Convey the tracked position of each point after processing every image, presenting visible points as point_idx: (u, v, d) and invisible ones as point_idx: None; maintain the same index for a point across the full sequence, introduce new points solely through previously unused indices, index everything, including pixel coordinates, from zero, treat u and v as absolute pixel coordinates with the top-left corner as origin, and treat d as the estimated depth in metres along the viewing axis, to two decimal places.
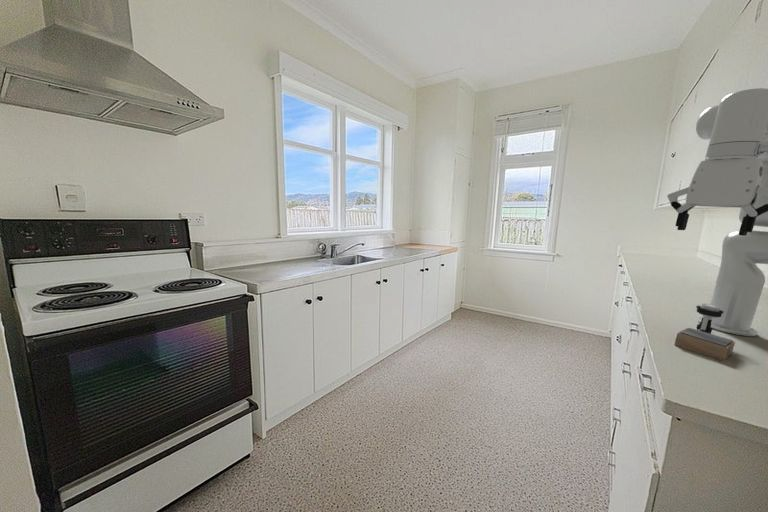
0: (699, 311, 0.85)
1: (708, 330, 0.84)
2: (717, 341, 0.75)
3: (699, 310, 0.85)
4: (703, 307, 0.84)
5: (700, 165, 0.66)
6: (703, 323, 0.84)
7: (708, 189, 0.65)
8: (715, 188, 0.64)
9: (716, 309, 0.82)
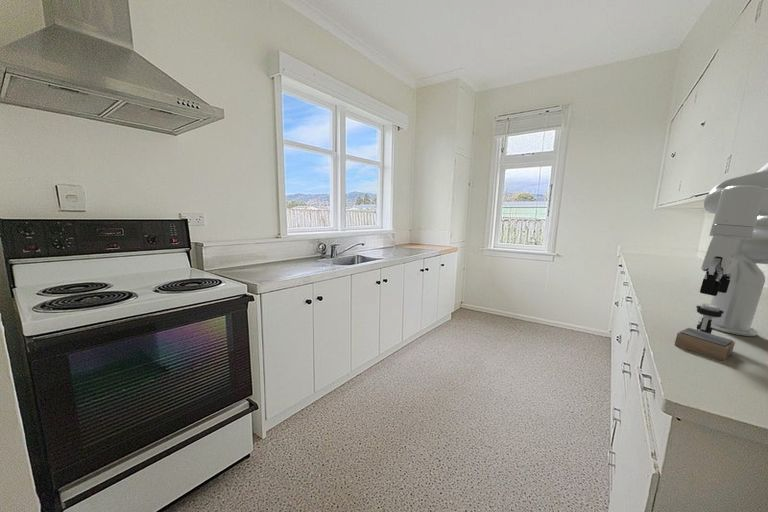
0: (699, 311, 0.85)
1: (708, 330, 0.84)
2: (717, 341, 0.75)
3: (699, 310, 0.85)
4: (703, 307, 0.84)
5: (735, 242, 0.77)
6: (703, 323, 0.84)
7: (734, 262, 0.78)
8: (734, 261, 0.79)
9: (716, 309, 0.82)
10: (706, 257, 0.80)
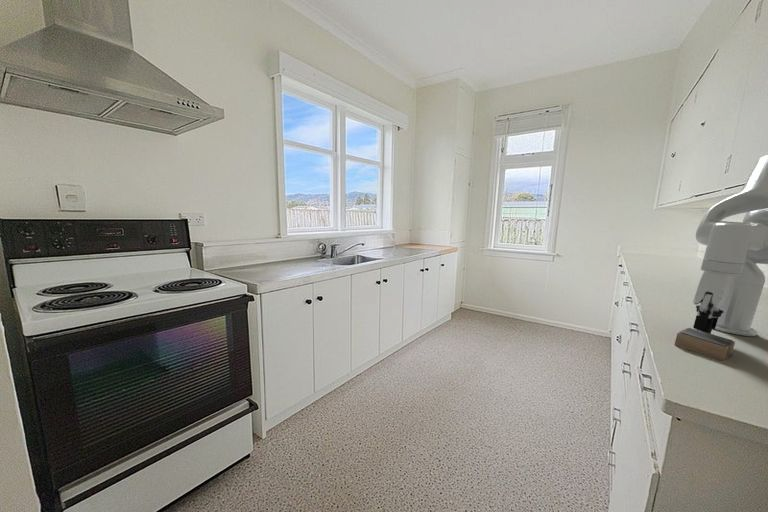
0: None
1: None
2: (717, 341, 0.75)
3: None
4: None
5: (725, 278, 0.79)
6: None
7: (724, 296, 0.80)
8: (725, 295, 0.81)
9: (716, 309, 0.82)
10: (697, 292, 0.82)
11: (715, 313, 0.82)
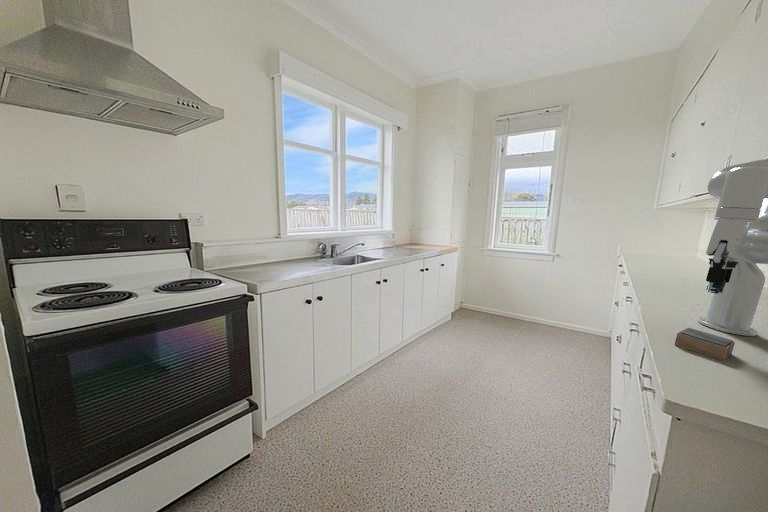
0: None
1: None
2: (717, 341, 0.75)
3: None
4: None
5: (741, 224, 0.75)
6: None
7: (740, 245, 0.76)
8: (740, 244, 0.77)
9: (730, 259, 0.78)
10: (711, 241, 0.79)
11: (729, 263, 0.78)
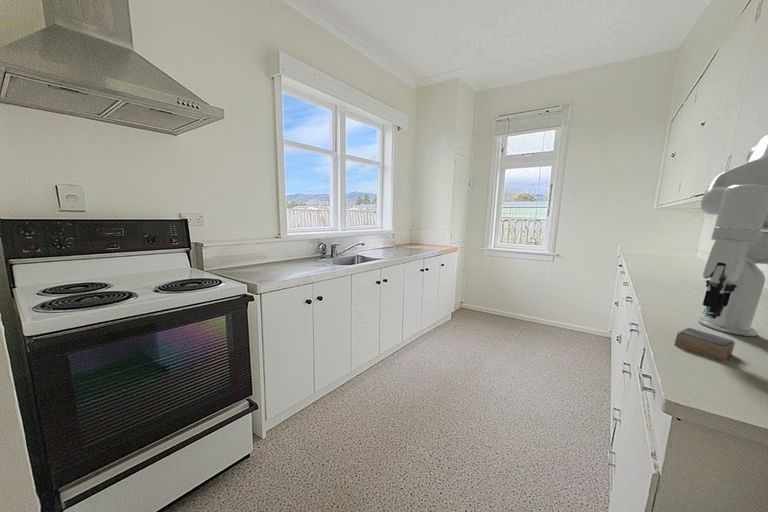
0: None
1: None
2: (717, 341, 0.75)
3: None
4: None
5: (740, 247, 0.70)
6: None
7: (739, 268, 0.71)
8: (739, 267, 0.72)
9: (728, 283, 0.73)
10: (708, 263, 0.73)
11: (728, 287, 0.73)
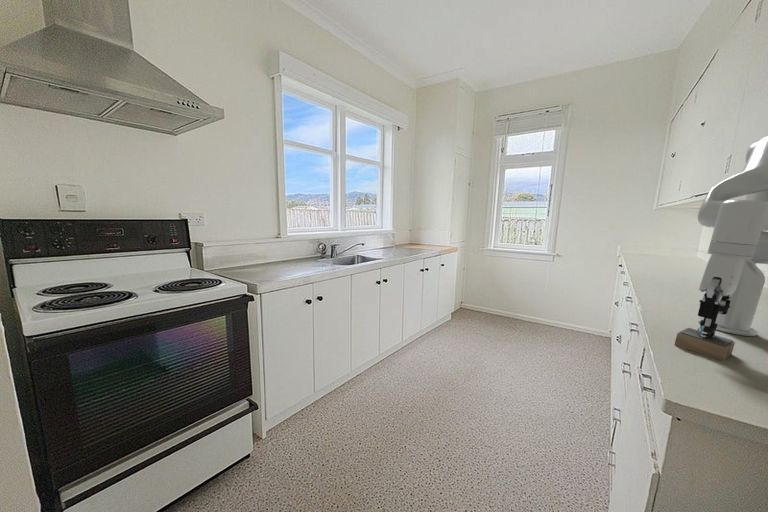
0: None
1: (713, 326, 0.76)
2: (717, 341, 0.75)
3: None
4: None
5: (736, 261, 0.70)
6: (707, 319, 0.76)
7: (734, 282, 0.72)
8: (735, 281, 0.73)
9: (722, 303, 0.75)
10: (704, 277, 0.74)
11: (721, 308, 0.74)
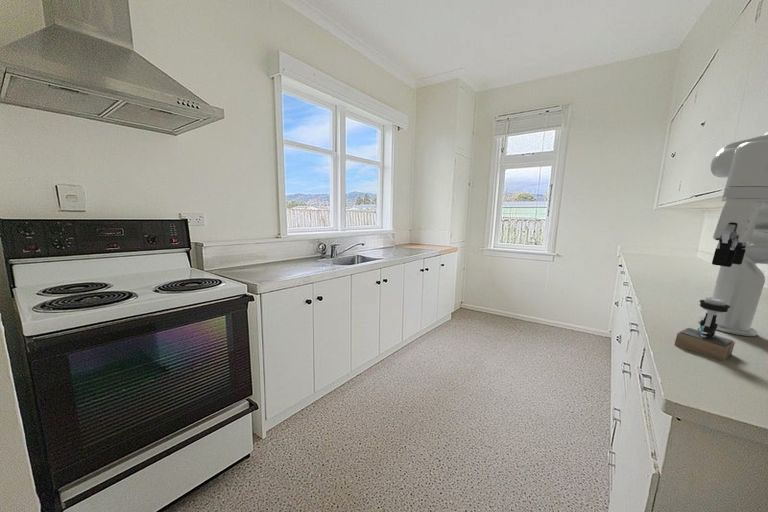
0: (703, 306, 0.77)
1: (713, 327, 0.76)
2: (717, 341, 0.75)
3: (703, 305, 0.77)
4: (707, 301, 0.77)
5: (752, 205, 0.68)
6: (707, 319, 0.76)
7: (750, 228, 0.70)
8: (751, 227, 0.70)
9: (722, 303, 0.75)
10: (719, 224, 0.72)
11: (721, 308, 0.74)
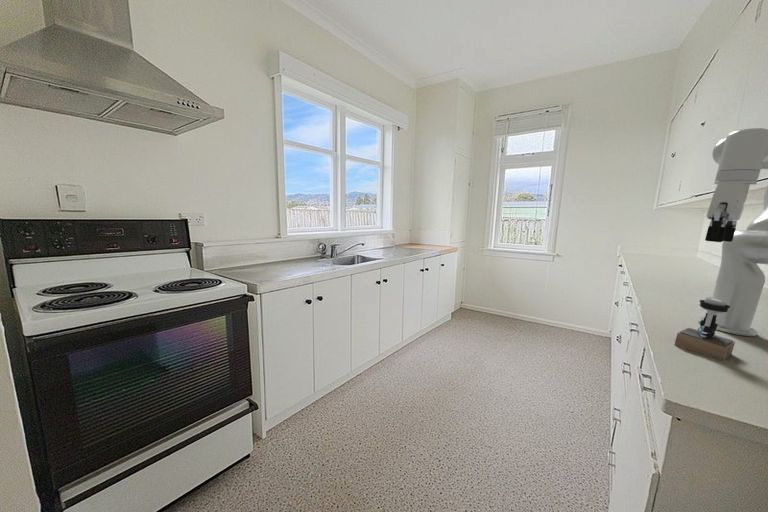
0: (703, 306, 0.77)
1: (713, 327, 0.76)
2: (717, 341, 0.75)
3: (703, 305, 0.77)
4: (707, 301, 0.77)
5: (741, 186, 0.76)
6: (707, 319, 0.76)
7: (739, 207, 0.78)
8: (740, 206, 0.79)
9: (722, 303, 0.75)
10: (711, 204, 0.80)
11: (721, 308, 0.74)
